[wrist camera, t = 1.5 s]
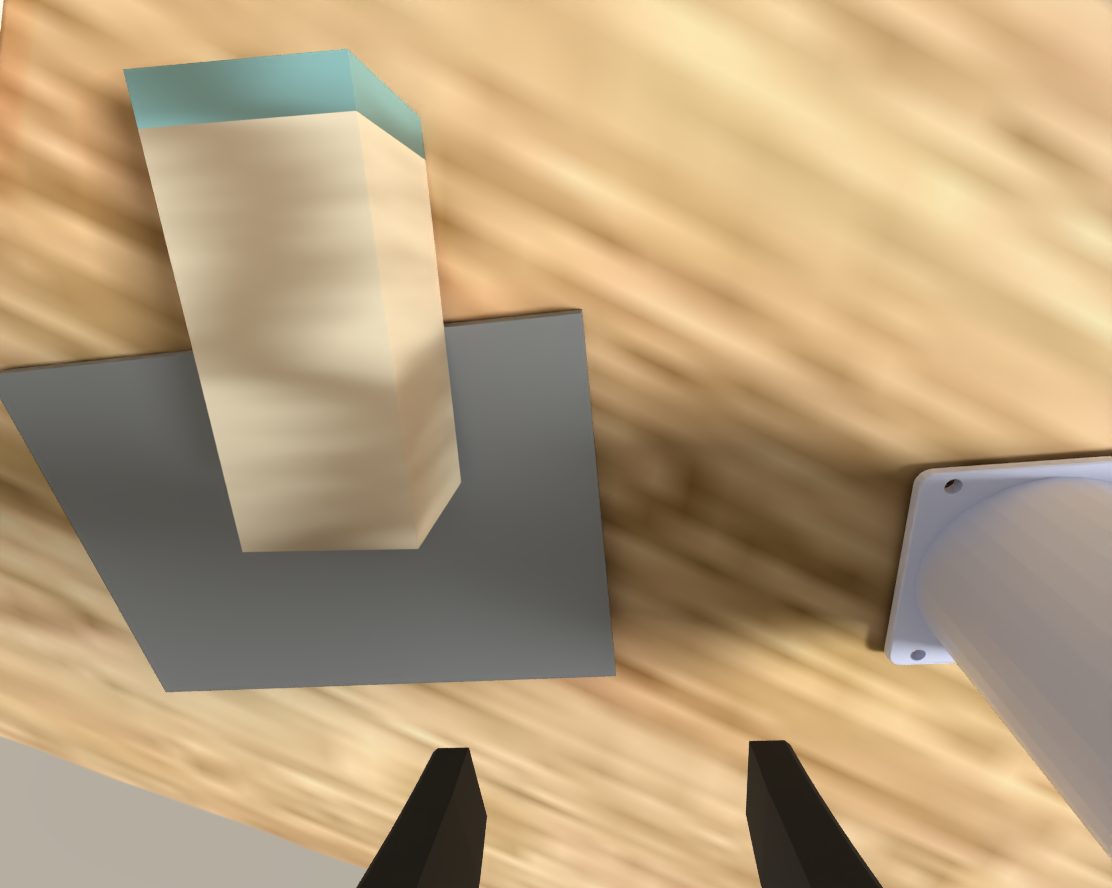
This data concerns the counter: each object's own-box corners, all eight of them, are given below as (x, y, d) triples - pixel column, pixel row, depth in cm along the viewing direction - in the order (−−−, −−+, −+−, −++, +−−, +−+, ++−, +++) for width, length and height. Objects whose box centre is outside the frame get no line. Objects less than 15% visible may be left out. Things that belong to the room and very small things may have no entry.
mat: (581, 309, 16) (581, 313, 15) (615, 663, 21) (615, 676, 21) (5, 369, 18) (-13, 375, 17) (175, 680, 23) (165, 692, 23)
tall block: (461, 482, 17) (420, 117, 14) (418, 548, 13) (347, 48, 10) (326, 486, 17) (259, 130, 14) (242, 551, 13) (123, 69, 10)
